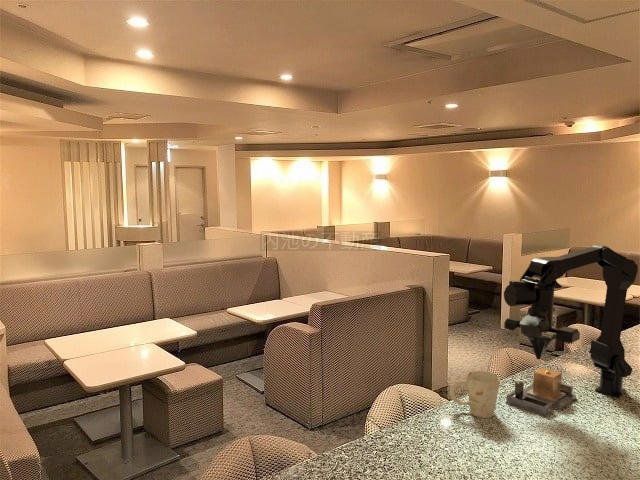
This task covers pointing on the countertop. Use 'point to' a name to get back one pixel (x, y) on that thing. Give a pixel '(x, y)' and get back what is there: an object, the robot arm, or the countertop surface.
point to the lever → (519, 390)
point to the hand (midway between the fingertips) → (538, 358)
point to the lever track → (530, 404)
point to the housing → (547, 382)
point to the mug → (479, 393)
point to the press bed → (557, 401)
